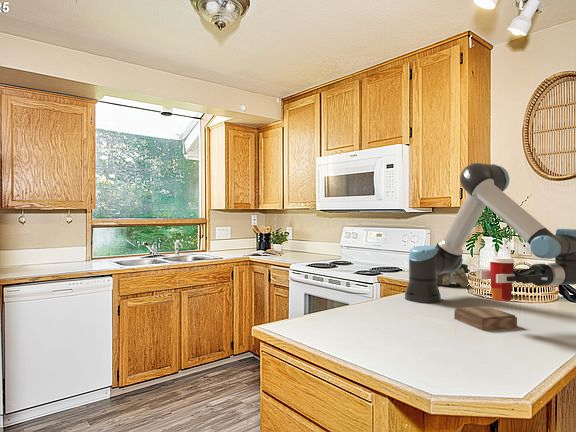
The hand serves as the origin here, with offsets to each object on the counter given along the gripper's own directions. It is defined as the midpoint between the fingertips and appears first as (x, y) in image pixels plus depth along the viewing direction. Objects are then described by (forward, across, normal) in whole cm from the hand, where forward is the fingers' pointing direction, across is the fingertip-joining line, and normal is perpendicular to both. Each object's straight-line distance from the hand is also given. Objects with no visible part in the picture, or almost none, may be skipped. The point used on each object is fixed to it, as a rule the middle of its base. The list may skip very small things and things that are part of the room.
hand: (488, 276), depth 131 cm
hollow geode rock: (-35, +74, -18) cm, 83 cm away
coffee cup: (-42, +50, -18) cm, 67 cm away
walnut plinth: (-5, +7, -18) cm, 20 cm away
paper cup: (-5, 0, -8) cm, 9 cm away
